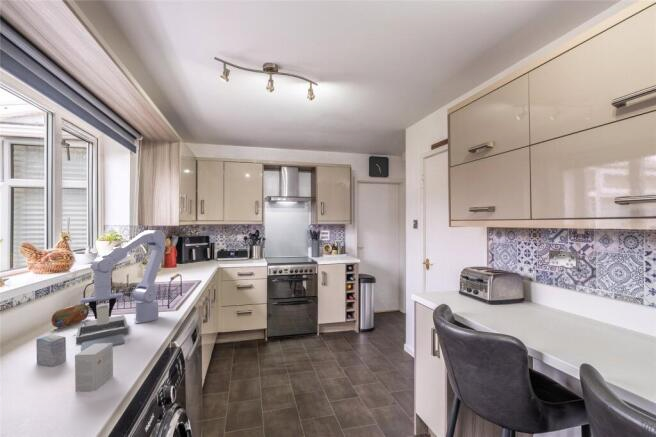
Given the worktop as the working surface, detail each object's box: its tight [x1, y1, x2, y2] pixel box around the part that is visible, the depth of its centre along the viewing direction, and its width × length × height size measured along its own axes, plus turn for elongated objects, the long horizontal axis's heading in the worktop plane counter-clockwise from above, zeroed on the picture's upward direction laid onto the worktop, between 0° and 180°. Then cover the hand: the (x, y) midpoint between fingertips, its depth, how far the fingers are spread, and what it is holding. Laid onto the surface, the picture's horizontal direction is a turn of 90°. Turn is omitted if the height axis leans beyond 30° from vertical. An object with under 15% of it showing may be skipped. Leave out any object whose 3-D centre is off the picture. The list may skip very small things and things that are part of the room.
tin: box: [51, 303, 90, 329], centre depth 137 cm, size 15×3×8 cm, turn 168°
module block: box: [96, 303, 110, 326], centre depth 126 cm, size 4×6×7 cm, turn 38°
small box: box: [74, 343, 114, 393], centre depth 87 cm, size 8×6×10 cm
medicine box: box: [35, 334, 67, 368], centre depth 100 cm, size 8×4×9 cm, turn 71°
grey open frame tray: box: [75, 314, 129, 345], centre depth 131 cm, size 17×27×3 cm, turn 38°
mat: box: [80, 334, 125, 352], centre depth 115 cm, size 13×11×1 cm
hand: (103, 317), depth 126 cm, fingers closed on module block, 4 cm apart
